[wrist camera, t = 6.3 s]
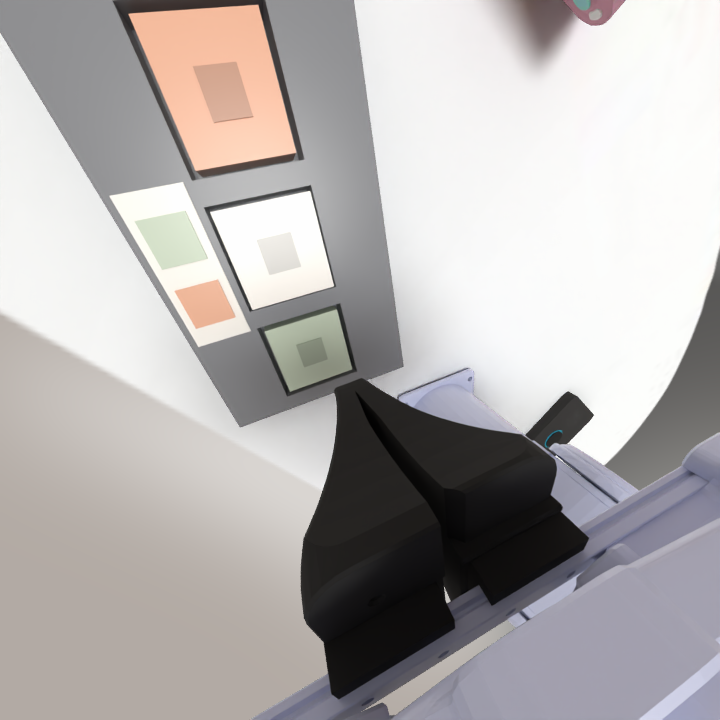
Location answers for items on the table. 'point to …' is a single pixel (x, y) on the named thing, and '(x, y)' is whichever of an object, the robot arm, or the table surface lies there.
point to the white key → (275, 248)
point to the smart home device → (561, 422)
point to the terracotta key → (218, 85)
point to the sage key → (309, 347)
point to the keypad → (224, 180)
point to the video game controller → (594, 10)
